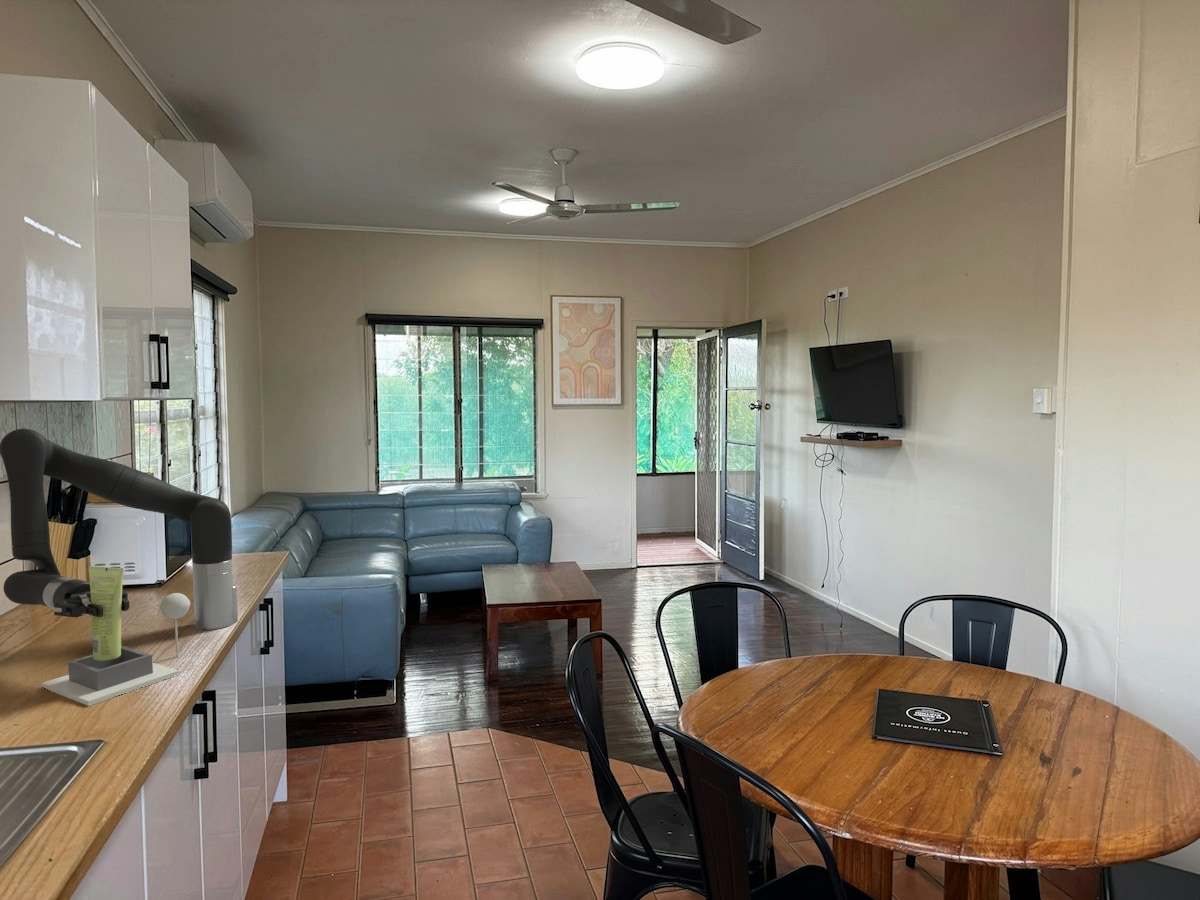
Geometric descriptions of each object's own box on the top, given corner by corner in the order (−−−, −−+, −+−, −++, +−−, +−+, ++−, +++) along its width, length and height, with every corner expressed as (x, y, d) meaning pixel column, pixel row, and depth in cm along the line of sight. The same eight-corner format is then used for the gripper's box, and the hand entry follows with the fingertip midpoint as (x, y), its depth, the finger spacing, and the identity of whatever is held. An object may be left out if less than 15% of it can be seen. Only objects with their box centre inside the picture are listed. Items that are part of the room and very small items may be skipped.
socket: (131, 659, 169) (130, 638, 169) (178, 675, 161) (177, 652, 160) (41, 687, 154) (40, 664, 153) (88, 706, 145) (87, 681, 144)
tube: (123, 651, 160) (120, 562, 159) (126, 658, 156) (123, 567, 155) (91, 656, 157) (88, 566, 155) (94, 663, 153) (90, 571, 151)
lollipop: (161, 663, 167) (158, 598, 166) (162, 654, 173) (159, 591, 171) (192, 658, 170) (189, 595, 169) (192, 650, 175) (190, 588, 174)
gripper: (32, 586, 156) (75, 599, 148) (105, 572, 168) (148, 583, 160) (34, 621, 157) (77, 636, 148) (106, 604, 169) (149, 617, 161)
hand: (114, 608), depth 154 cm, fingers closed on tube, 4 cm apart
